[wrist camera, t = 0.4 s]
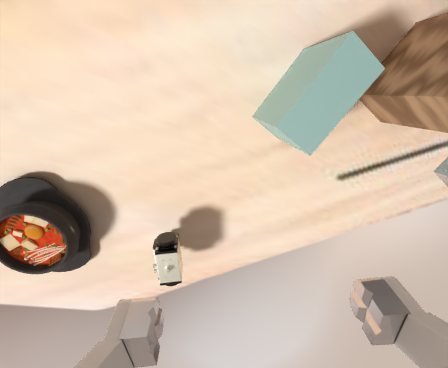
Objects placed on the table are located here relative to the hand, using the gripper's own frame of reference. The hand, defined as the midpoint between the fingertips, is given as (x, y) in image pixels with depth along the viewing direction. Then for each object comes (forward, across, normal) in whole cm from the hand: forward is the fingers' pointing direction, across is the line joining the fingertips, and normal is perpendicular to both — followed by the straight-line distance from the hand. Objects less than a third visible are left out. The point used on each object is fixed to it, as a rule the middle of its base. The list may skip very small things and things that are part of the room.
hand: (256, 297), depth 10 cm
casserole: (+42, +41, +23) cm, 63 cm away
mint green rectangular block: (+48, -16, 0) cm, 51 cm away
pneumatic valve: (+43, +15, +32) cm, 55 cm away
